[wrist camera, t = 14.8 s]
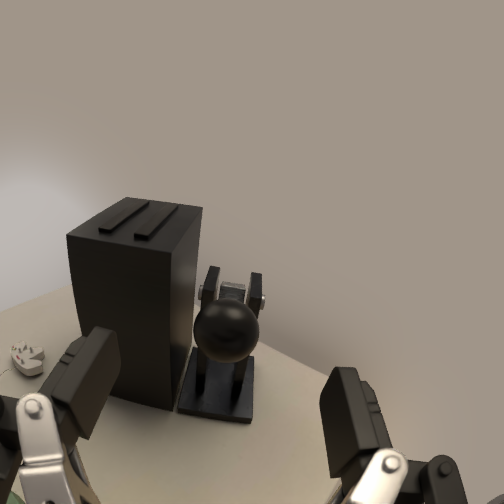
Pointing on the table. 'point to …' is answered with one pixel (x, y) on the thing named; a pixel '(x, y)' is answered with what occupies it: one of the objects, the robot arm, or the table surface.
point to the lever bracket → (221, 368)
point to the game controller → (27, 358)
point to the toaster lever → (226, 326)
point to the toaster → (140, 291)
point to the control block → (14, 499)
